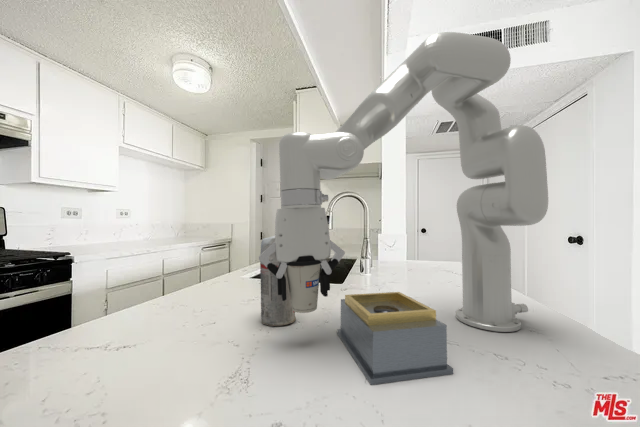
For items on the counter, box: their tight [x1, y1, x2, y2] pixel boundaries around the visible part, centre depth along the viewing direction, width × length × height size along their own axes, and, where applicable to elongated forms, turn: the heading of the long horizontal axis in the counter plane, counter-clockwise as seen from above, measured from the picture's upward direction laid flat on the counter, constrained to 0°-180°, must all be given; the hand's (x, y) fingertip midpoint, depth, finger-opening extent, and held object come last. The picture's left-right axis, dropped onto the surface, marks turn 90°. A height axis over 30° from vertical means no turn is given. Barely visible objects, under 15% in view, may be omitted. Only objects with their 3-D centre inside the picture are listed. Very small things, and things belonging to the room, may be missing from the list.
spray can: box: [259, 234, 297, 327], centre depth 60 cm, size 8×8×20 cm
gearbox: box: [336, 291, 454, 386], centre depth 46 cm, size 17×15×8 cm
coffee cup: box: [286, 256, 321, 314], centre depth 48 cm, size 7×7×10 cm
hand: (304, 295), depth 48 cm, fingers closed on coffee cup, 7 cm apart
